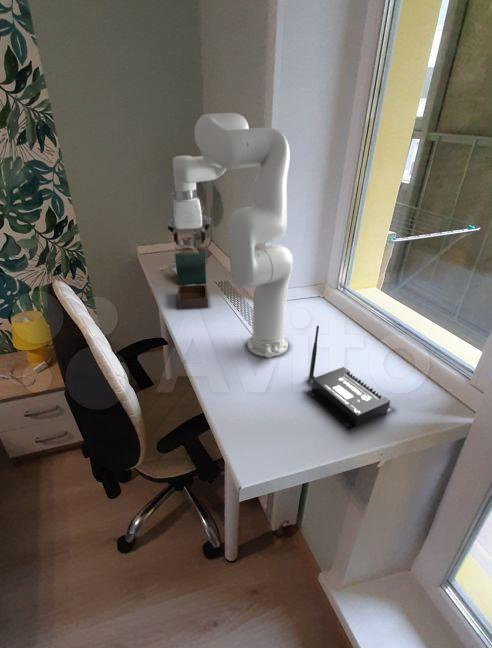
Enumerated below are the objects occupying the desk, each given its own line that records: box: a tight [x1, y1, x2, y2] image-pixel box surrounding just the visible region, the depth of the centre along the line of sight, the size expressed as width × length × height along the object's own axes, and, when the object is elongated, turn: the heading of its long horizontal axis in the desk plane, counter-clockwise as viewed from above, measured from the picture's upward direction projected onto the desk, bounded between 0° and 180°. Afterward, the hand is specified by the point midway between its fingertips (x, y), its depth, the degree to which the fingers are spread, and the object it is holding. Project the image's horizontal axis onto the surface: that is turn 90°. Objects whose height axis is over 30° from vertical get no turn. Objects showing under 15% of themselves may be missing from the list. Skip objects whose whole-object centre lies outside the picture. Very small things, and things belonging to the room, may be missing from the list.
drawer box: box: [177, 284, 209, 310], centre depth 146 cm, size 13×11×4 cm
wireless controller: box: [306, 325, 392, 431], centre depth 94 cm, size 20×14×17 cm
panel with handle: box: [174, 250, 207, 286], centre depth 147 cm, size 13×11×6 cm
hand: (189, 242), depth 144 cm, fingers open, 9 cm apart
